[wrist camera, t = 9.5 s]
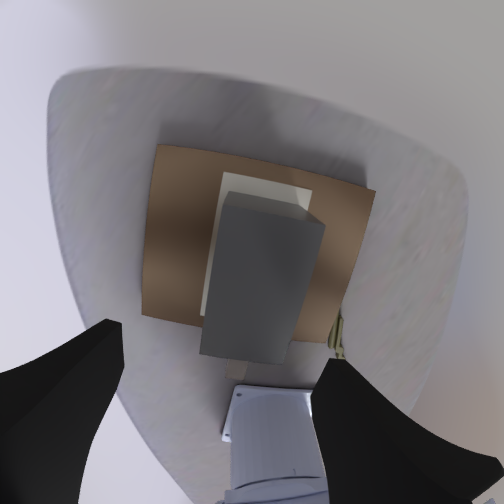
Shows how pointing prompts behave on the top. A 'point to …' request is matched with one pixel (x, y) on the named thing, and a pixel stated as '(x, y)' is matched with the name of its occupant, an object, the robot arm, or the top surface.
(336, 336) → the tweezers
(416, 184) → the top surface
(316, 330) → the pin board
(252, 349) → the block
